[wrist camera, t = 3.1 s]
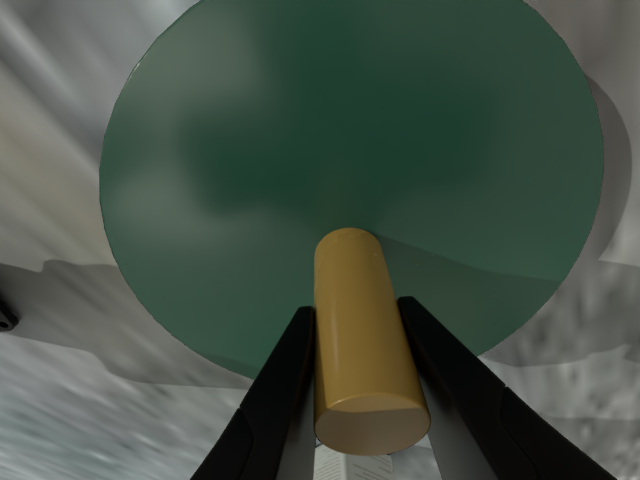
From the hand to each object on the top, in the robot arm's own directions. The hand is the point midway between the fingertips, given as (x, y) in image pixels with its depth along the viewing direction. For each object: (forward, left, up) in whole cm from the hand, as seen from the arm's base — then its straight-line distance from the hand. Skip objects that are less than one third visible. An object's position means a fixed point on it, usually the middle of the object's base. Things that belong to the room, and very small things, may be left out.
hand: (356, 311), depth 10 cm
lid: (0, 0, -3) cm, 3 cm away
